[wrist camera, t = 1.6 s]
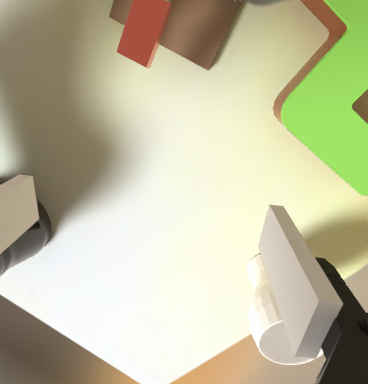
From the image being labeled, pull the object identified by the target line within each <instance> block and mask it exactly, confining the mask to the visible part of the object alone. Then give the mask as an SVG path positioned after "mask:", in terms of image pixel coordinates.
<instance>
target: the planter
mask: <svg viewBox="0 0 368 384" xmlns="http://www.w3.org/2000/svg"><path fill="white" fill-rule="evenodd" d="M301 1H302V2H303V3H304V4H305V5H306V7H307V8H308V9H309V10H310V11H311V12H312V13H313V14H314V15H315V16H316V17H317V18H318V19H319V20H320V21H321V22H322V23H323V24H324V25H325V27H326V28H327V29H328V30H329V38H328V39H327V41H326V42H325V43H324V44H323V45H322V46H321V47H320V48H319V50H318V51H317V52H316V53H315V54H314V55H313V56H312V57H311V59H310V60H309V61H308V62H307V63H306V64H305V65H304V66H303V68H302V69H301V70H300V71H299V72H298V73H297V74H296V75H295V77H294V78H293V79H292V80H291V81H290V82H289V83H288V84H287V86H286V87H285V88H284V89H283V90H282V91H281V92H280V94H279V95H278V96H277V98H276V100H275V102H274V107H273V110H274V115H275V117H276V118H277V120H278V121H279V122H280V123H281V124H282V125H284V126H285V127H286V129H287V130H289V131H290V132H291V133H292V134H293V135H294V136H295V137H296V138H297V139H299V140H300V141H301V142H302V143H303V144H304V145H305V146H306V147H308V148H309V149H310V150H311V151H312V152H313V153H314V154H315V155H317V156H318V157H319V158H320V159H321V160H322V161H323V162H324V163H326V164H327V165H328V166H329V167H330V168H331V169H332V170H333V171H335V172H336V173H337V174H338V175H339V176H340V177H341V178H342V179H344V180H345V181H346V182H347V183H348V184H349V185H350V186H351V187H352V188H354V189H355V190H356V191H357V192H358V193H359V194H361V195H364V196H368V124H367V123H366V122H365V121H364V120H363V119H362V118H361V117H360V116H359V115H358V114H357V113H356V112H355V111H354V110H353V109H352V104H353V103H354V102H355V101H356V100H357V99H358V98H359V97H360V96H361V95H362V94H363V93H364V92H365V91H366V90H367V89H368V0H301Z"/></svg>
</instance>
